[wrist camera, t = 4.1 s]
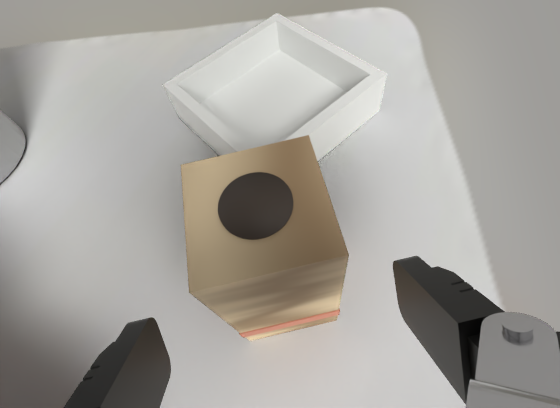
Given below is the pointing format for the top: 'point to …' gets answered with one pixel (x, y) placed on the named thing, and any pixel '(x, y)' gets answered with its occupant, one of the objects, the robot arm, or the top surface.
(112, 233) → the top surface
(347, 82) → the white tray
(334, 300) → the oak block
